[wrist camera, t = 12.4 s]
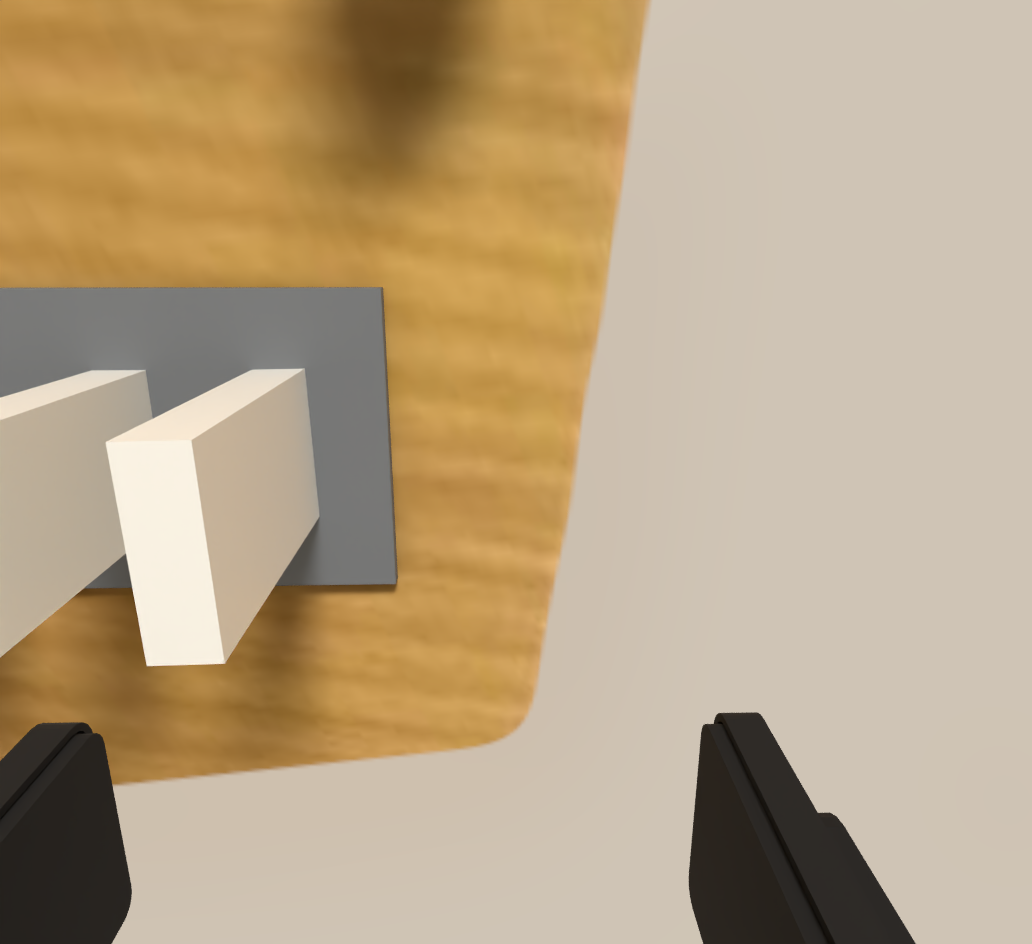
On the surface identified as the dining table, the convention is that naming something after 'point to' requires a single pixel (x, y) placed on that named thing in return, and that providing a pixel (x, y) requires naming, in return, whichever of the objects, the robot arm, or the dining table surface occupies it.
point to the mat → (224, 356)
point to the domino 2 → (214, 511)
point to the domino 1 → (60, 491)
